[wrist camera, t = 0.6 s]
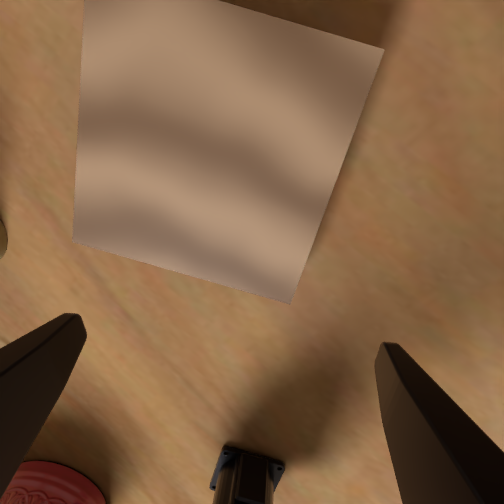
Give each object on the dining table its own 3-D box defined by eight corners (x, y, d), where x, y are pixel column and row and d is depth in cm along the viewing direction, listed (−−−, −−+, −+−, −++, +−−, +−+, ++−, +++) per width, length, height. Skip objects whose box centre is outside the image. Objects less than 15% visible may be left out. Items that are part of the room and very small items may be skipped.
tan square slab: (289, 280, 24) (290, 304, 21) (100, 226, 24) (72, 241, 21) (367, 62, 19) (384, 49, 15) (121, -10, 18) (86, -39, 15)
